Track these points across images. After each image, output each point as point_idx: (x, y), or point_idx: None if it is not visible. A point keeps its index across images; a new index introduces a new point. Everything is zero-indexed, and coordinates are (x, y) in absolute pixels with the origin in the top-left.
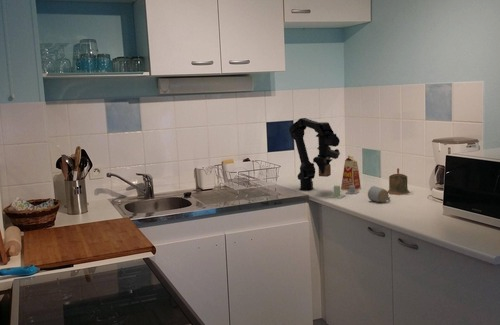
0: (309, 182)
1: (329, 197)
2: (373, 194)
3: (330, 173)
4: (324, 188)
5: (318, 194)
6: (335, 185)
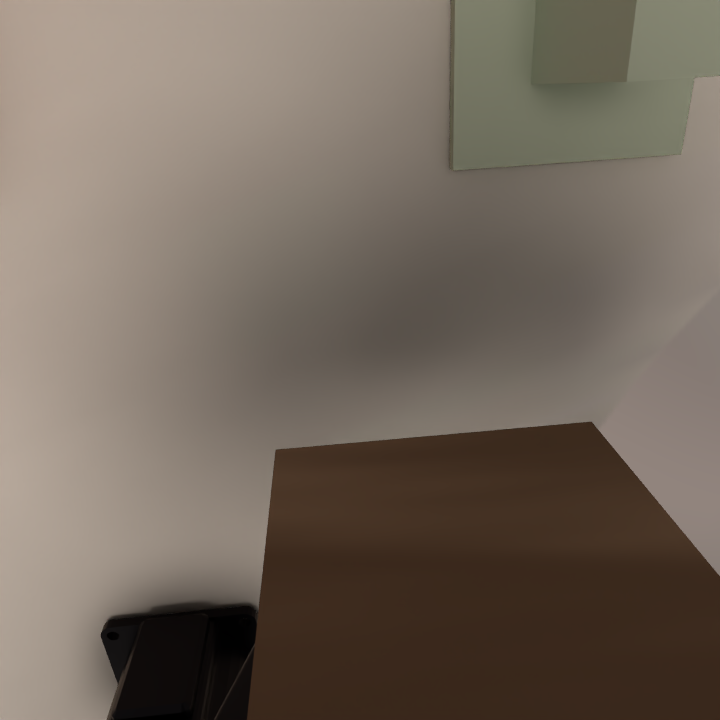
0: (203, 716)
1: (677, 138)
2: None
3: (300, 485)
4: (18, 503)
5: (453, 406)
6: (632, 72)
